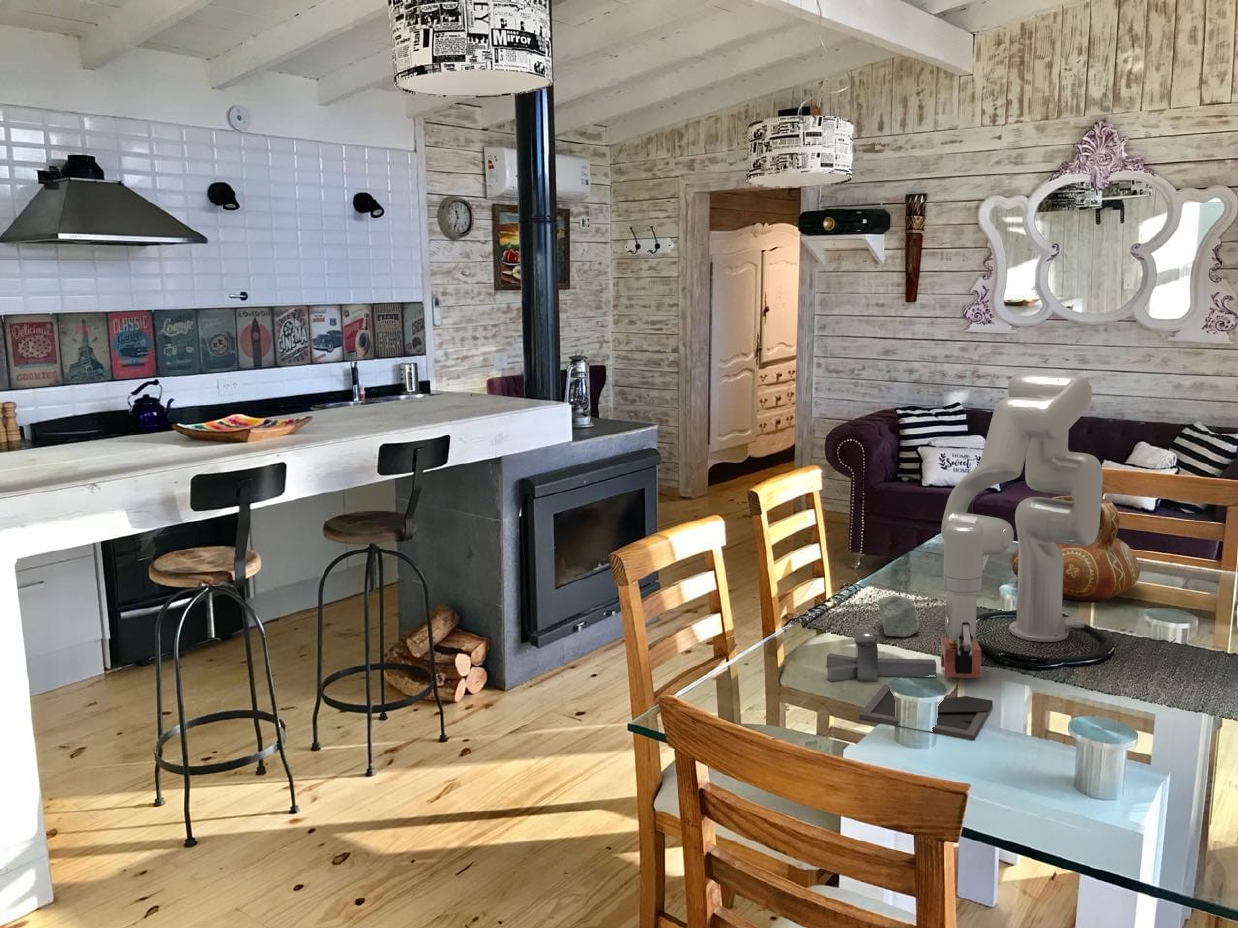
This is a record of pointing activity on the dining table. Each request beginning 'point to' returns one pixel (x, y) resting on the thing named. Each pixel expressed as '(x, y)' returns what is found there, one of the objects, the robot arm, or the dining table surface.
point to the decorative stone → (898, 616)
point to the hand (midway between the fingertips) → (960, 665)
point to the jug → (1096, 562)
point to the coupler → (874, 662)
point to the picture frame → (953, 713)
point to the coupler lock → (949, 658)
